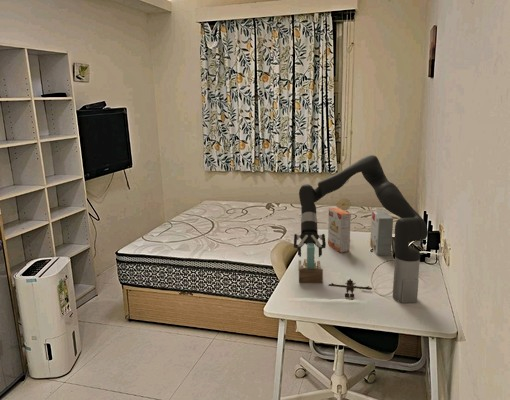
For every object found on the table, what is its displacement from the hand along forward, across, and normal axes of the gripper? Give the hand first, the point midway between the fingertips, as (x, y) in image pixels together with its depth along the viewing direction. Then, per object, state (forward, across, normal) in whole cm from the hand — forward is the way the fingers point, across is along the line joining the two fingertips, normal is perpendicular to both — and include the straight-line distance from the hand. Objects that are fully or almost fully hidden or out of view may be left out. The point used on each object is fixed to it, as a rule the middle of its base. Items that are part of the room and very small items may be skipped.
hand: (309, 256), depth 189 cm
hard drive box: (-19, -38, -36) cm, 56 cm away
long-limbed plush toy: (+17, -16, +1) cm, 24 cm away
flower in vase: (-32, -19, -47) cm, 60 cm away
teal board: (+8, 0, -6) cm, 10 cm away
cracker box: (-21, -17, -37) cm, 46 cm away
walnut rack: (+6, 0, -9) cm, 11 cm away
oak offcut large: (+2, 0, -12) cm, 12 cm away
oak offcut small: (0, 0, -10) cm, 10 cm away
